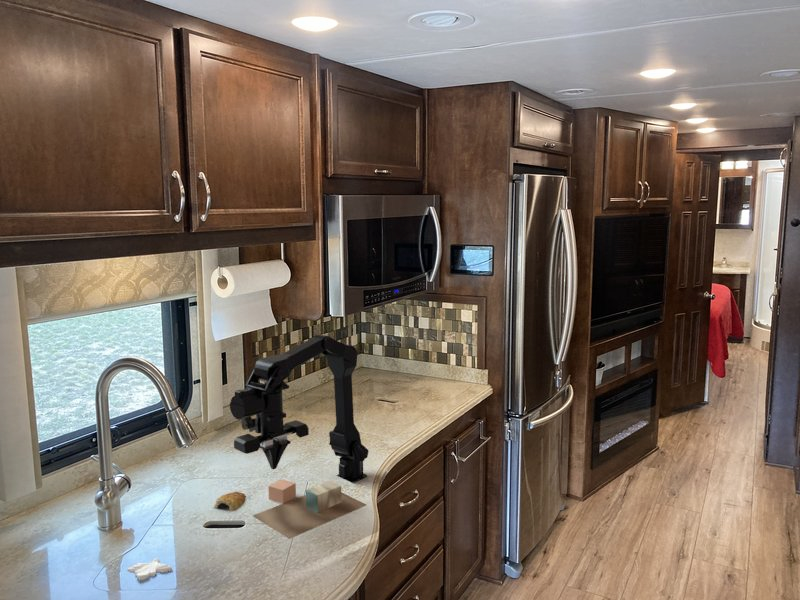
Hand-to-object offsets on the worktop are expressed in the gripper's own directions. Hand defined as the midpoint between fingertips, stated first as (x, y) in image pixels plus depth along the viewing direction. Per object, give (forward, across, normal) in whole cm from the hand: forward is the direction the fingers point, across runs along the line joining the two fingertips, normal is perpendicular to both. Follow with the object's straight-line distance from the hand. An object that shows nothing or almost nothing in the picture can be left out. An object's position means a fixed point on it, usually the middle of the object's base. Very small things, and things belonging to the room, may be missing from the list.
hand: (273, 468), depth 162 cm
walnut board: (+12, -6, +7) cm, 15 cm away
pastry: (+12, +6, -12) cm, 18 cm away
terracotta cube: (+12, -5, -4) cm, 14 cm away
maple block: (+8, -6, +7) cm, 13 cm away
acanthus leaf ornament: (+13, +34, +2) cm, 36 cm away
